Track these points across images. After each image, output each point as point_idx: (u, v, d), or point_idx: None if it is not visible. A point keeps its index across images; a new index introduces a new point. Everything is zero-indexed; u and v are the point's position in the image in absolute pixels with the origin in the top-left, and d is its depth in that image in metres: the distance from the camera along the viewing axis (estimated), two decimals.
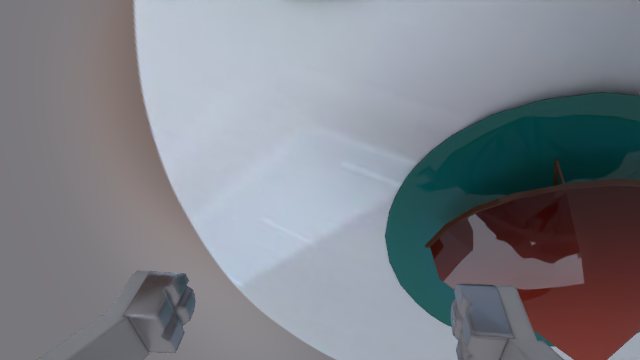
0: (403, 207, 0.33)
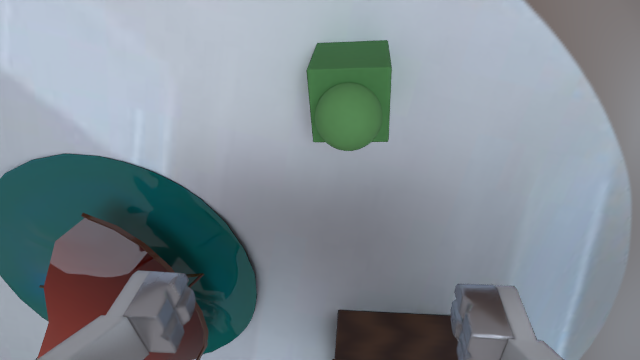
0: (111, 168, 0.32)
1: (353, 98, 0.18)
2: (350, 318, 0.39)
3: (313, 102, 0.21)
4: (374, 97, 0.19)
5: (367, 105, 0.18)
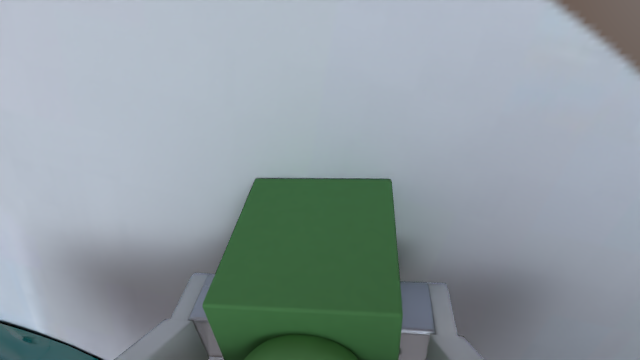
0: None
1: None
2: None
3: (228, 351, 0.09)
4: None
5: None
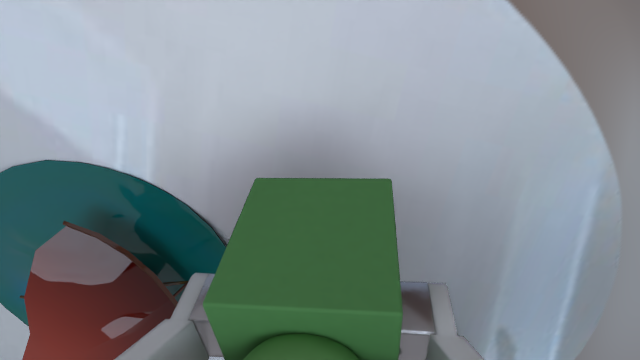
0: (94, 174, 0.31)
1: None
2: None
3: (228, 351, 0.09)
4: None
5: None
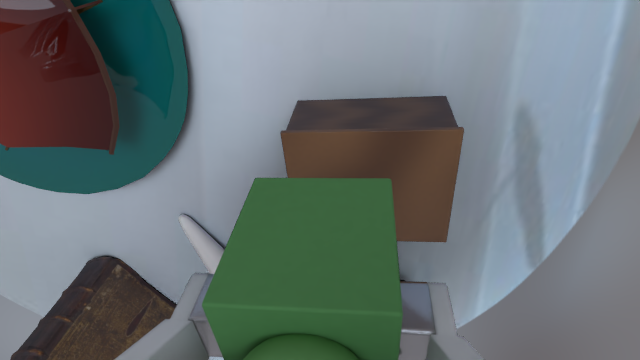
0: None
1: None
2: (312, 104, 0.30)
3: (227, 351, 0.09)
4: None
5: None
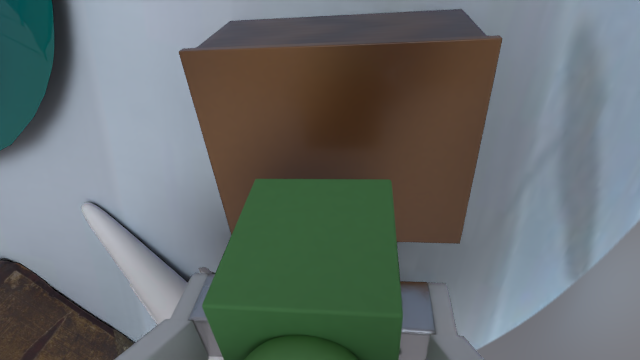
0: None
1: None
2: (250, 23, 0.19)
3: (227, 352, 0.09)
4: None
5: None
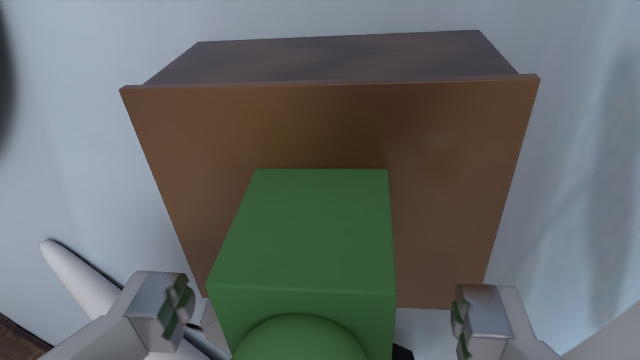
0: None
1: None
2: (220, 46, 0.16)
3: (229, 332, 0.10)
4: None
5: None
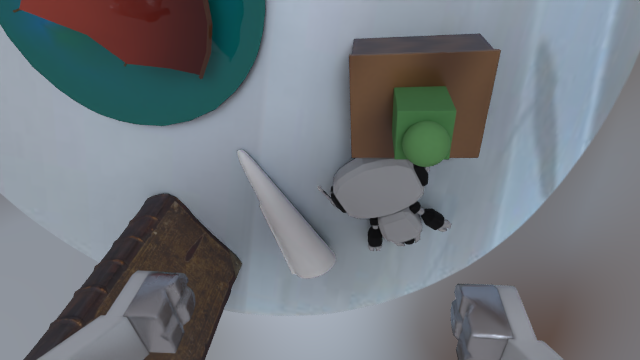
0: None
1: (433, 133, 0.27)
2: (368, 41, 0.36)
3: (398, 132, 0.30)
4: (445, 131, 0.28)
5: (442, 137, 0.28)
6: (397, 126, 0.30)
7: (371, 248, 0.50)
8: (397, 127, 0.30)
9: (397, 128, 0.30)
